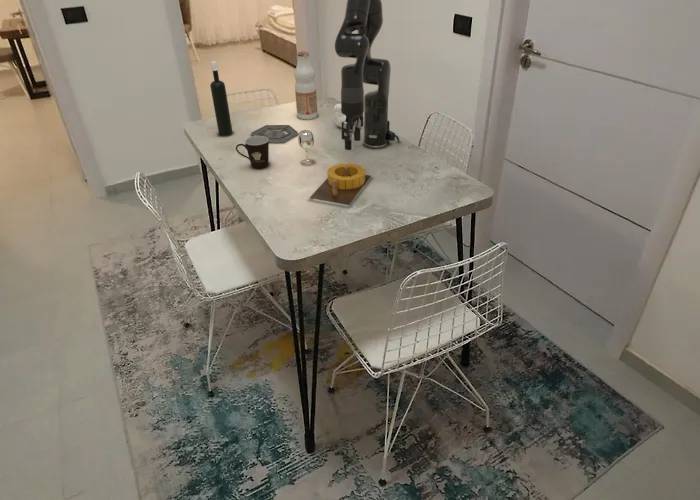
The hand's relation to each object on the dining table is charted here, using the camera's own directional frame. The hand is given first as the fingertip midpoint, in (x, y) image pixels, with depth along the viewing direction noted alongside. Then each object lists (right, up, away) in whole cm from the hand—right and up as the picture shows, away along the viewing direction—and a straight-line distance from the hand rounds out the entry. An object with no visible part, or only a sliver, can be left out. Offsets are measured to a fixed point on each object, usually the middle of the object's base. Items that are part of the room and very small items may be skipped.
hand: (352, 145), depth 171 cm
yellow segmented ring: (-2, -12, +1) cm, 13 cm away
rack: (-4, -16, -2) cm, 16 cm away
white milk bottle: (-21, +25, +56) cm, 64 cm away
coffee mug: (-36, -5, +14) cm, 39 cm away
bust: (-4, +18, +45) cm, 48 cm away
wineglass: (-17, -4, +15) cm, 23 cm away
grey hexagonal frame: (-33, +12, +38) cm, 52 cm away
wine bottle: (-54, +13, +40) cm, 69 cm away
